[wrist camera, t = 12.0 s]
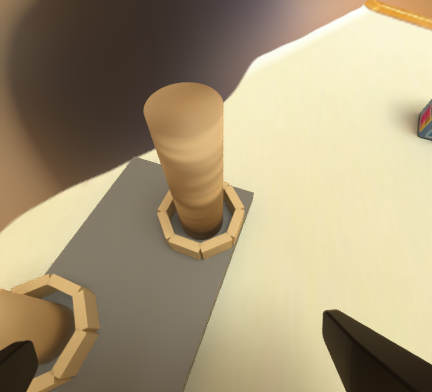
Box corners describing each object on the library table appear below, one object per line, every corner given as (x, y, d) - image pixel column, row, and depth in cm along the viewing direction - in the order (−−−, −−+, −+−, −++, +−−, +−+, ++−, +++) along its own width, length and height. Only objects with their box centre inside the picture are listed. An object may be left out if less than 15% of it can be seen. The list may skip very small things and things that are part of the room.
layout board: (252, 200, 26) (279, 68, 14) (154, 470, 15) (-133, 996, 3) (136, 164, 29) (73, 31, 17) (-12, 366, 18) (-488, 407, 6)
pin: (228, 210, 23) (234, 91, 12) (214, 246, 21) (204, 142, 10) (192, 198, 24) (166, 76, 13) (174, 231, 22) (128, 122, 11)
